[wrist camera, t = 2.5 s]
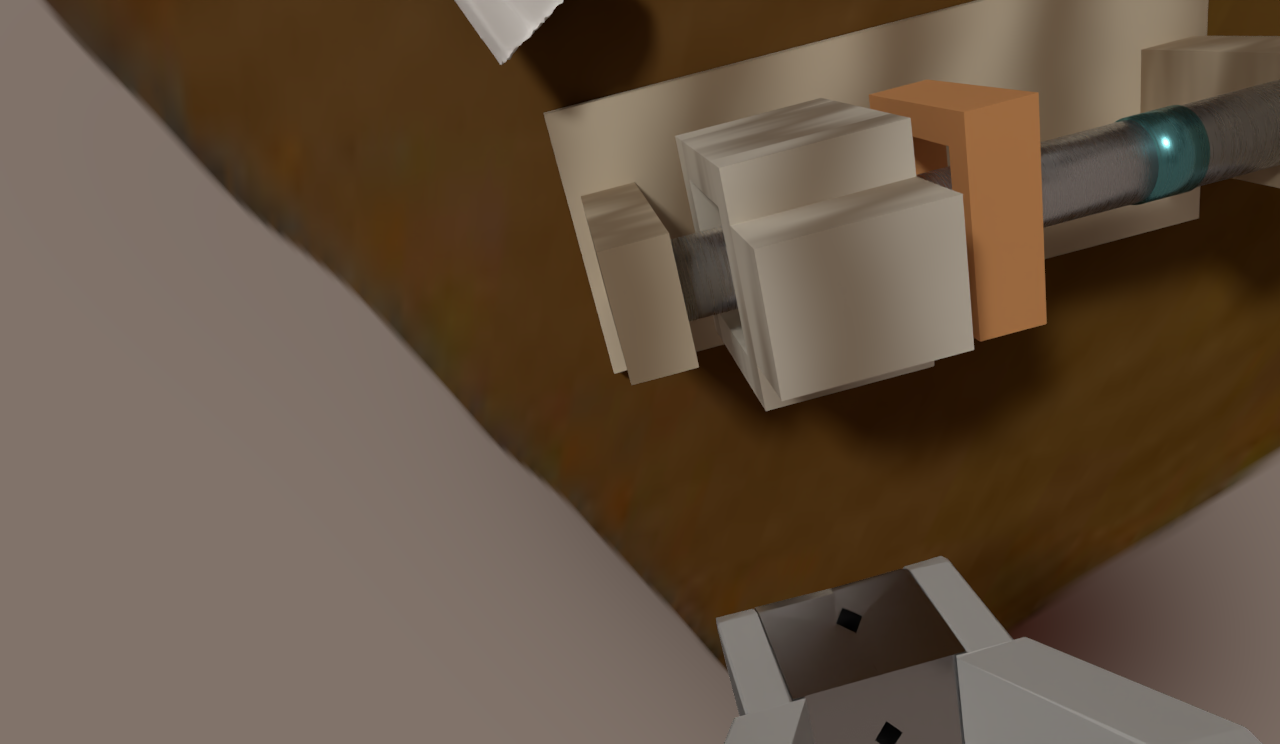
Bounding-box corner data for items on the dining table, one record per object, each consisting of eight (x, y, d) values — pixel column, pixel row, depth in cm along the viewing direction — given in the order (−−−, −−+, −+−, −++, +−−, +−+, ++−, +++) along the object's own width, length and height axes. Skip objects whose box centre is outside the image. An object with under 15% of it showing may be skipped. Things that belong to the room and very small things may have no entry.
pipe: (1247, 75, 25) (1322, 79, 23) (1242, 159, 27) (1313, 172, 24) (657, 230, 25) (670, 251, 23) (675, 309, 26) (690, 337, 24)
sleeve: (821, 97, 27) (957, 128, 18) (848, 294, 30) (978, 401, 21) (674, 135, 27) (742, 184, 18) (715, 329, 30) (791, 452, 21)
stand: (1193, -57, 29) (1453, -92, 21) (1184, 214, 33) (1399, 273, 25) (543, 112, 29) (547, 144, 21) (612, 366, 33) (638, 478, 25)
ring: (926, 79, 27) (1038, 92, 21) (943, 265, 30) (1046, 324, 24) (868, 94, 27) (963, 112, 21) (890, 279, 30) (980, 341, 24)
